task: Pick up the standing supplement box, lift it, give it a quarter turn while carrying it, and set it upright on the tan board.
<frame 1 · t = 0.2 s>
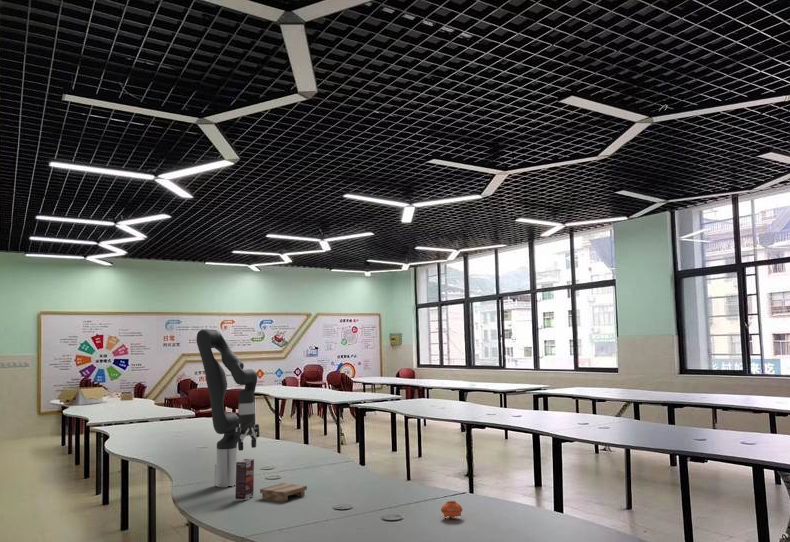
hand: (247, 449, 287), 18 cm above the table, tool pointing down, fingers open, 8 cm apart
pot: (452, 519, 229), on the table
tan board: (283, 497, 268), on the table
supplement box: (244, 499, 266), on the table
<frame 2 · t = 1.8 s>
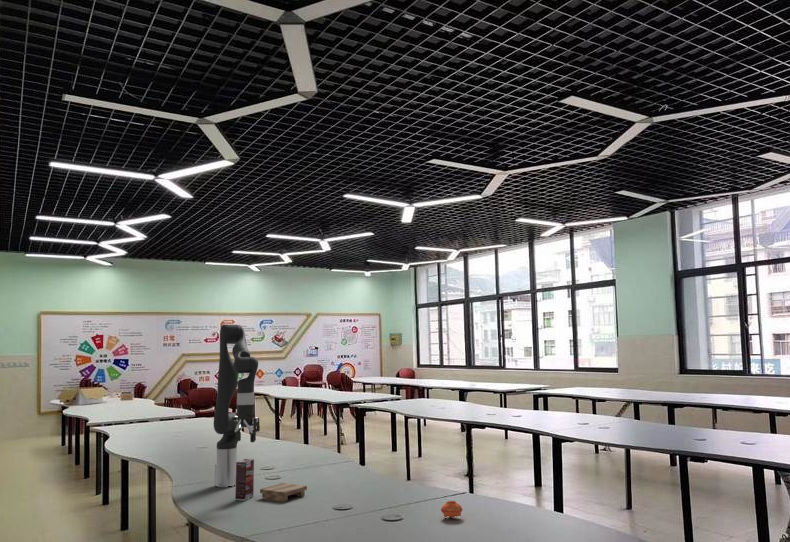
hand: (245, 441, 269), 24 cm above the table, tool pointing down, fingers open, 8 cm apart
nothing on the table moved.
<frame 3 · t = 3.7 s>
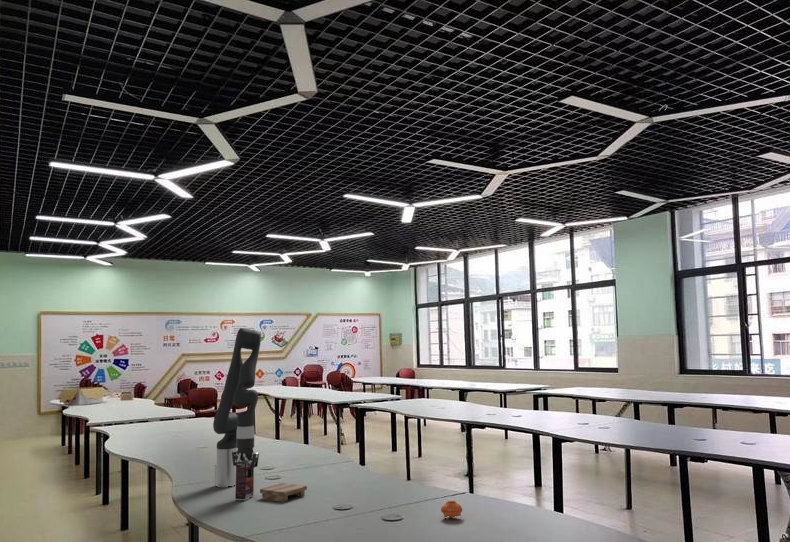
hand: (245, 476, 267), 9 cm above the table, tool pointing down, fingers closed on supplement box, 5 cm apart
supplement box: (244, 499, 266), on the table, touching gripper
everything else where it was.
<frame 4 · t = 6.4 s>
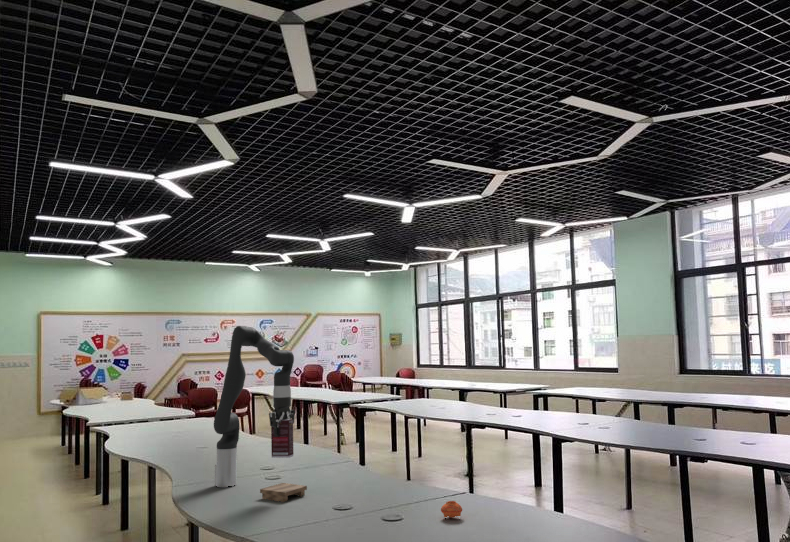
hand: (282, 435, 271), 26 cm above the table, tool pointing down, fingers closed on supplement box, 5 cm apart
supplement box: (282, 457, 270), point 17 cm above the table, touching gripper
everything else where it was.
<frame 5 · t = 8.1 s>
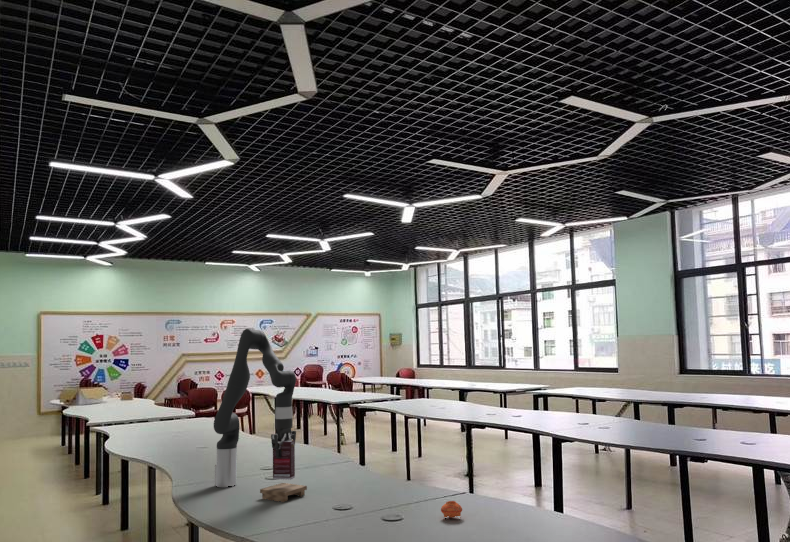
hand: (283, 456, 270), 17 cm above the table, tool pointing down, fingers closed on supplement box, 5 cm apart
supplement box: (283, 479, 269), point 8 cm above the table, touching gripper
everything else where it was.
when the fingers open (14 cm above the table, at t = 9.5 s): supplement box drops 1 cm, resting on tan board.
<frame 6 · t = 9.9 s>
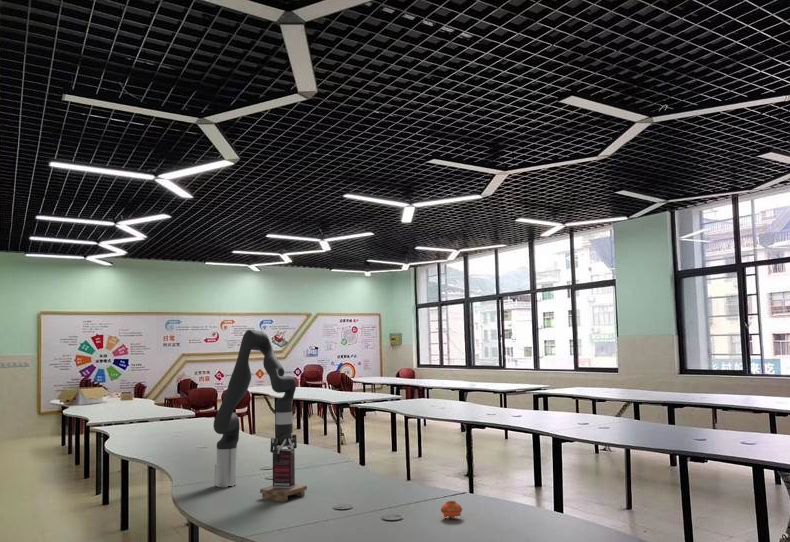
hand: (283, 460, 270), 15 cm above the table, tool pointing down, fingers open, 8 cm apart
supplement box: (283, 487, 268), point 4 cm above the table, touching tan board
everything else where it was.
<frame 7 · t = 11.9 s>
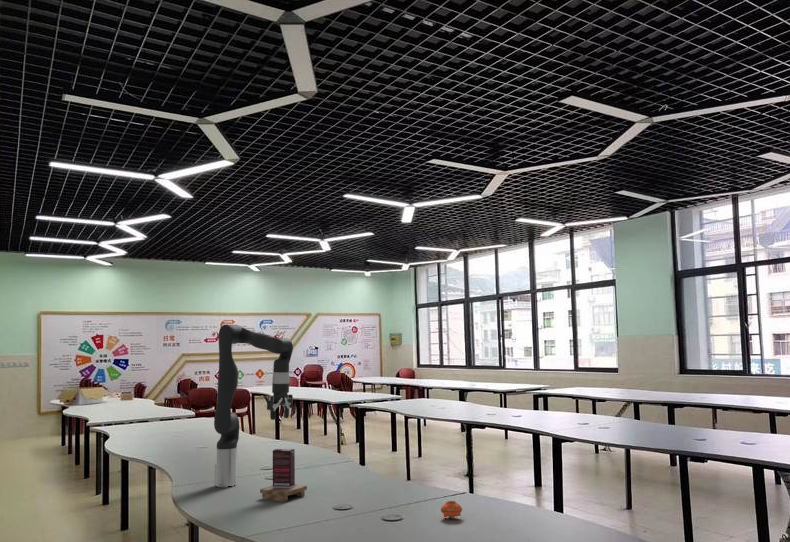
hand: (279, 418, 281), 32 cm above the table, tool pointing down, fingers open, 8 cm apart
nothing on the table moved.
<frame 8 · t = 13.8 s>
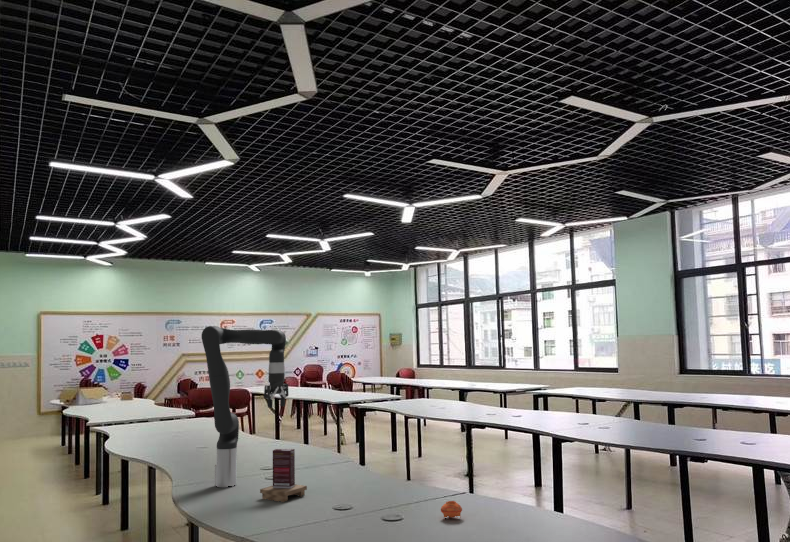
hand: (276, 406, 294), 36 cm above the table, tool pointing down, fingers open, 8 cm apart
nothing on the table moved.
at the end: supplement box inside the target area on the tan board (0.1 cm from its centre), point 3.8 cm above the tan board's base; supplement box tilted 0°; the gripper is holding nothing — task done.
